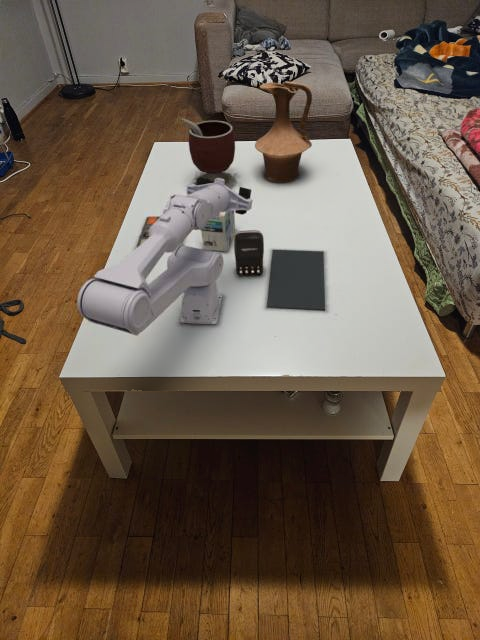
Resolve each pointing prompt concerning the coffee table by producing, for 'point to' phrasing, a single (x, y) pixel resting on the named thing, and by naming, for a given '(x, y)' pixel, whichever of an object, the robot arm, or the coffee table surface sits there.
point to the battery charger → (249, 252)
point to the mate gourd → (212, 149)
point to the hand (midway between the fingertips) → (233, 189)
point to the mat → (297, 280)
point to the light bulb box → (219, 231)
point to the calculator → (146, 229)
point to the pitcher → (284, 134)
